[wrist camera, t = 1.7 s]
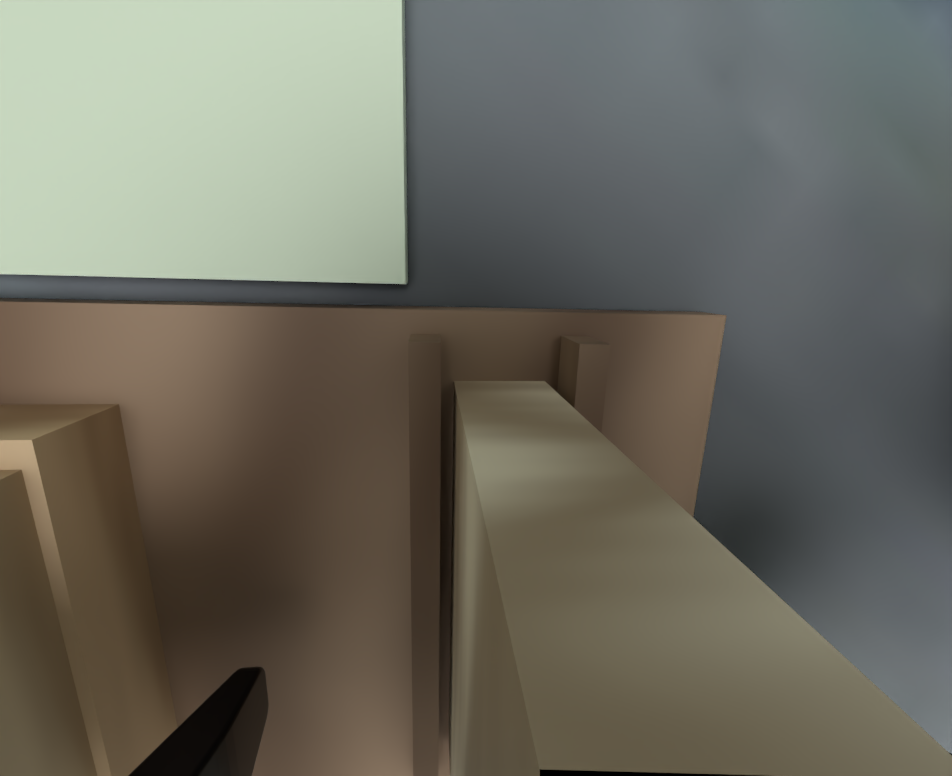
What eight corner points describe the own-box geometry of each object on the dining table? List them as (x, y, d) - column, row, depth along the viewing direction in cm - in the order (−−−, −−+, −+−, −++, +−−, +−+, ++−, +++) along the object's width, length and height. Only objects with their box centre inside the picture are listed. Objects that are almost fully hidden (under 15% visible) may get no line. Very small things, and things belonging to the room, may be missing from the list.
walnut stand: (699, 311, 11) (766, 321, 8) (637, 728, 14) (674, 810, 12) (-265, 292, 9) (-492, 298, 6) (-77, 788, 12) (-188, 901, 10)
